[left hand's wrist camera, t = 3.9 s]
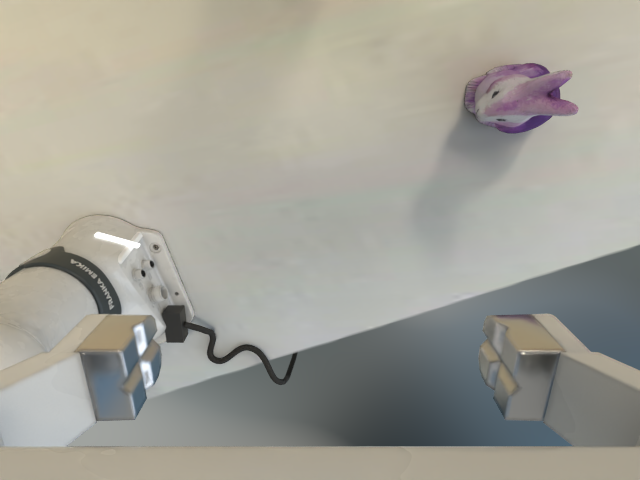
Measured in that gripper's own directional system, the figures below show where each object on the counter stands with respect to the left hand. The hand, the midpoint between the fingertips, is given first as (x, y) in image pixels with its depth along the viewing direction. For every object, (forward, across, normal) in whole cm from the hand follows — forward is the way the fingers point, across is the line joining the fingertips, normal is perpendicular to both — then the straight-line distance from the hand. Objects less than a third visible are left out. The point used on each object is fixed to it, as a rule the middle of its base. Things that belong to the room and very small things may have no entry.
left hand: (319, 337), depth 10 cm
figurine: (+48, -23, -4) cm, 53 cm away
